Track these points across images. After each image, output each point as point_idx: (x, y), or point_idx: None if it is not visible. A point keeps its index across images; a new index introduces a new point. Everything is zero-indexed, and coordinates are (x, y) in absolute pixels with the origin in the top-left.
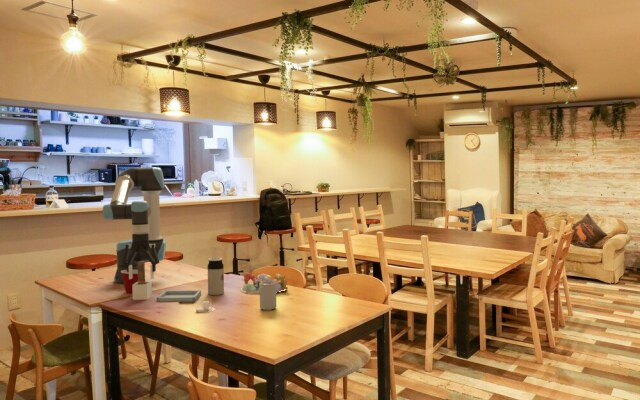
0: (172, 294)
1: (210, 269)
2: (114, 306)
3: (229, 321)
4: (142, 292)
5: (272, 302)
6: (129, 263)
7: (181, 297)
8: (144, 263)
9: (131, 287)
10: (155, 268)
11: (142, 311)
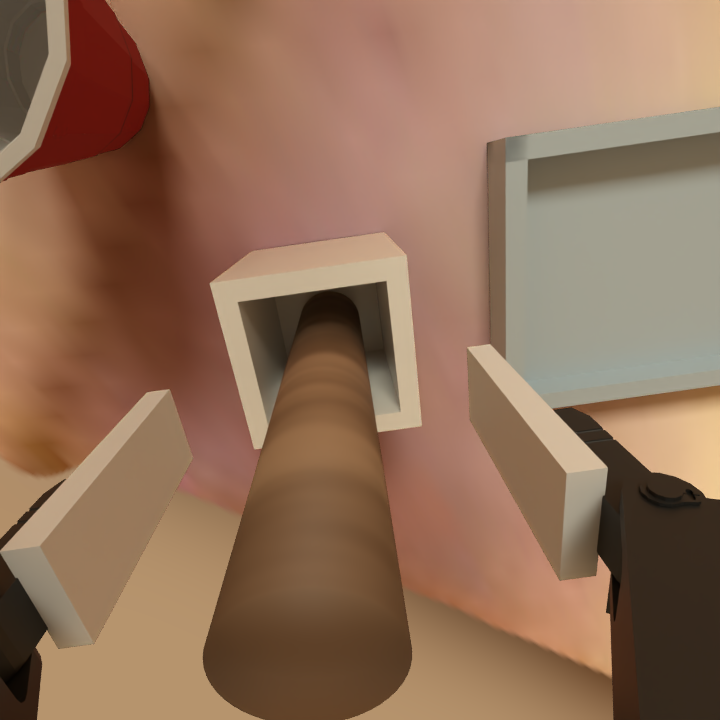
0: (574, 156)
1: None
2: (224, 499)
3: None
4: None
5: None
6: (37, 706)
7: (714, 383)
8: (402, 592)
9: (86, 157)
10: (610, 450)
11: (465, 563)
